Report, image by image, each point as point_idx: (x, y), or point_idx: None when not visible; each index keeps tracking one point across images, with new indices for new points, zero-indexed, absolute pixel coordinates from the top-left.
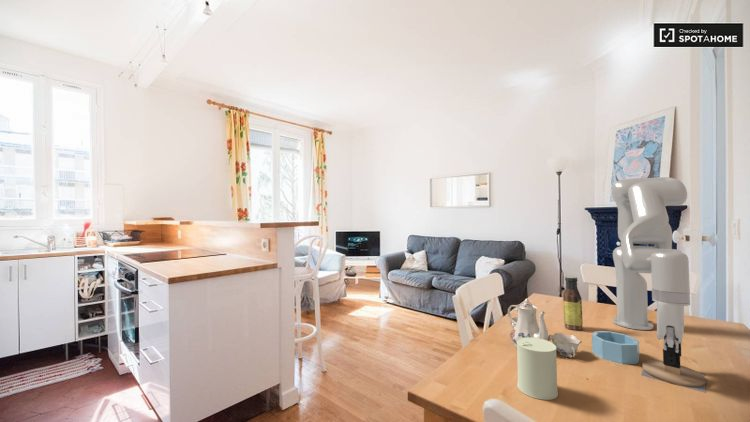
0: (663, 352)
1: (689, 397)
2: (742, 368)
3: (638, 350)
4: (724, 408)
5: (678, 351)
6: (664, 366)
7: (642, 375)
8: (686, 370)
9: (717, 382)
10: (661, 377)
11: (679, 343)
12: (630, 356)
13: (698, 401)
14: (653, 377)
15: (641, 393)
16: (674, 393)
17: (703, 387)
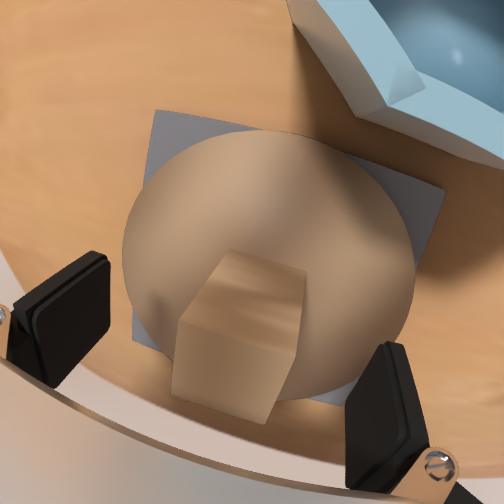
0: (32, 293)
1: None
2: None
3: (462, 150)
4: None
5: (350, 422)
6: (319, 270)
7: (154, 115)
8: (311, 361)
9: (301, 416)
10: (135, 207)
11: (348, 484)
12: (329, 58)
13: None
14: (156, 169)
15: (19, 113)
16: (76, 226)
17: None
